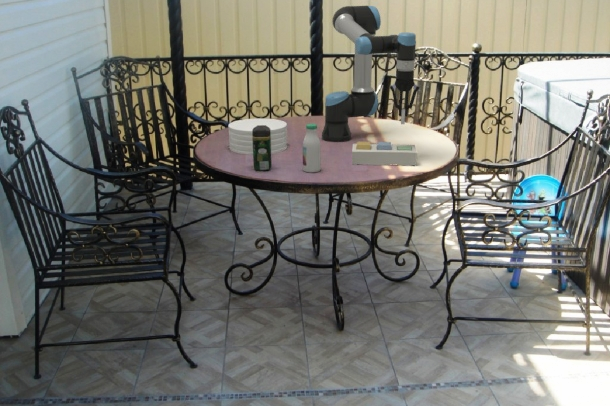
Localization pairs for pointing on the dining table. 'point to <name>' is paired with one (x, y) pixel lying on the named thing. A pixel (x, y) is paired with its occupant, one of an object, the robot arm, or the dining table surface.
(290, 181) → the dining table surface
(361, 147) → the key ochre
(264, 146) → the coffee jar
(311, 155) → the milk bottle
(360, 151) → the key panel
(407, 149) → the key sage
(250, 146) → the plate stack
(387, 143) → the key blue
